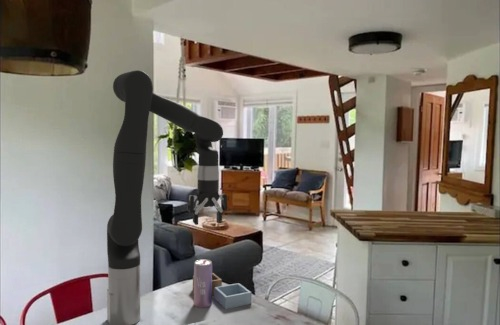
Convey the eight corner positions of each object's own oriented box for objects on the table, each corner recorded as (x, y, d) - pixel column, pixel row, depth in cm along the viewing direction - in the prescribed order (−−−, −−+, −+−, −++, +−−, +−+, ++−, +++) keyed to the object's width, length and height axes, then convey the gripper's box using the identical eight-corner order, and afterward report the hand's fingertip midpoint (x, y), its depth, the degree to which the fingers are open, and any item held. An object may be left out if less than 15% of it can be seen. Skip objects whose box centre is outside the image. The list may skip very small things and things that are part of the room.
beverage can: (213, 303, 128) (213, 259, 128) (209, 310, 122) (210, 265, 122) (196, 302, 129) (196, 258, 128) (191, 309, 123) (192, 264, 122)
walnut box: (200, 300, 131) (200, 283, 130) (192, 292, 138) (192, 275, 137) (221, 296, 134) (221, 279, 134) (213, 288, 141) (213, 272, 141)
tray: (225, 311, 122) (225, 297, 122) (214, 300, 131) (214, 287, 130) (251, 305, 127) (251, 292, 126) (238, 295, 135) (239, 283, 135)
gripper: (192, 179, 127) (192, 227, 128) (230, 178, 134) (230, 224, 135) (185, 178, 134) (185, 223, 135) (222, 177, 141) (221, 220, 141)
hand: (207, 223), depth 135 cm, fingers open, 8 cm apart
